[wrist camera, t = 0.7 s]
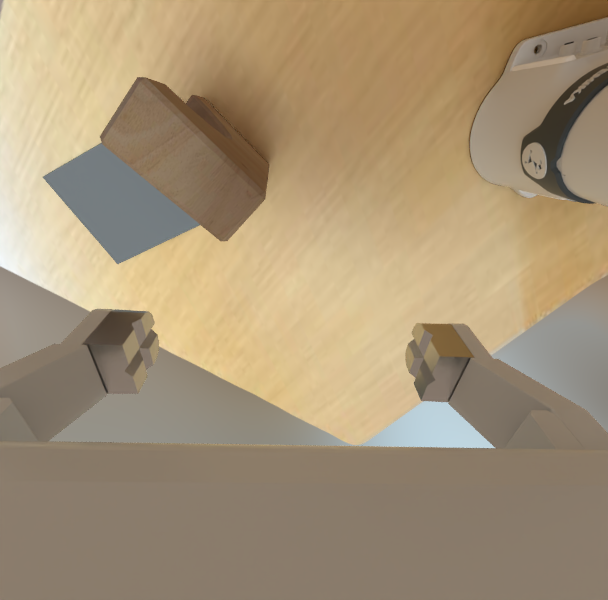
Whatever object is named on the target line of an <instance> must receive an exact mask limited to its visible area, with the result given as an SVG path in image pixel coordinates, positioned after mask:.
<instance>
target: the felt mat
mask: <svg viewBox="0 0 608 600" xmlns="http://www.w3.org/2000/svg"><path fill="white" fill-rule="evenodd" d="M43 178H44V179H45V180H46V182H47V183H48V184H49V185H50V186H51V187H52V189H53V190H54V191H55V192H56V193H57V194H58V196H59V197H60V198H61V199H62V200H63V201H64V202H65V204H66V205H67V206H68V207H69V208H70V209H71V211H72V212H73V213H74V214H75V215H76V216H77V218H78V219H79V220H80V221H81V222H82V223H83V225H84V226H85V227H86V228H87V229H88V230H89V231H90V233H91V234H92V235H93V236H94V237H95V238H96V240H97V241H98V242H99V243H100V244H101V245H102V247H103V248H104V249H105V250H106V251H107V252H108V254H109V255H110V256H111V257H112V258H113V259H114V260H115V262H116V263H117V264H119V263H121V262H123V261H125V260H127V259H130V258H132V257H134V256H136V255H138V254H140V253H142V252H144V251H146V250H148V249H150V248H153V247H155V246H157V245H159V244H161V243H163V242H165V241H167V240H169V239H171V238H174V237H176V236H178V235H180V234H182V233H184V232H186V231H188V230H190V229H192V228H195V227H197V226H199V225H200V224H199V223H198V222H197V221H195V220H194V219H193V218H192V217H190V216H189V215H188V214H187V213H186V212H184V211H183V210H182V209H181V208H179V207H178V206H177V205H176V204H174V203H173V202H172V201H171V200H170V199H168V198H167V197H166V196H165V195H163V194H162V193H161V192H160V191H159V190H157V189H156V188H155V187H154V186H152V185H151V184H150V183H149V182H148V181H146V180H145V179H144V178H143V177H141V176H140V175H139V174H138V173H137V172H135V171H134V170H133V169H132V168H130V167H129V166H128V165H127V164H126V163H124V162H123V161H122V160H121V159H119V158H118V157H117V156H116V155H115V154H113V153H112V152H111V151H110V150H109V149H107V148H106V147H105V146H104V145H102V143H101V144H99V145H97V146H96V147H94V148H92V149H90V150H89V151H87V152H85V153H83V154H82V155H80V156H78V157H77V158H75V159H73V160H71V161H70V162H68V163H66V164H64V165H63V166H61V167H59V168H58V169H56V170H54V171H52V172H51V173H49V174H47V175H45V176H44V177H43Z"/></svg>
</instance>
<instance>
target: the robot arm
mask: <svg viewBox="0 0 608 600" xmlns="http://www.w3.org/2000/svg"><path fill="white" fill-rule="evenodd" d="M536 46H537V47H538V50H537V52H536V54H535V53H534V49H535V47H536ZM470 153H471V158H472V162H473V164H474V167H475V168H476V170H477V172H478V173H479V174H480V175H481V176H482V177H483V178H484V179H485V180H487V181H489V182H491V183H493V184H496V185H500V186H506V187H510V188H512V189H513V190H514V191H515V192H516V193H518V194H519V195H520V196H522V197H526V198H532V197H535V196H537V195H541V196H546V197H550V198H555V199H560V200H569V201H574V202H576V201H577V202H581V203H589V204H592V203H598V204H601V205H604V206H607V207H608V17H605V18H602V19H598V20H594V21H591V22H587V23H583V24H580V25H576V26H572V27H568V28H565V29H561V30H557V31H554V32H550V33H546V34H543V35H539V36H535V37H532V38H528V39H525V40H523V41H521V42H520V43H518V44H517V46H516V47H515V49H514V50H513V52H512V54H511V56H510V58H509V61H508V63H507V66H506V68H505V71H504V73H503V75H502V76H501V78H500V79H499V81H498V82H497V83H496V85H495V86H494V87H493V88H492V90H491V91H490V92H489V94H488V95H487V96H486V98H485V100H484V101H483V103H482V105H481V106H480V108H479V110H478V113H477V115H476V117H475V120H474V123H473V126H472V131H471V137H470ZM153 325H154V319H153V316H152V314H151V313H150V312H146V311H130V310H112V309H95V310H92V311H91V313H90V314H89V315H88V316H87V317H86V318H85V319H84V320H83V321H82V322H81V323H80V324H79V325H78V326H77V327H76V328H75V329H74V330H73V331H72V332H71V333H70V334H69V335H68V337H67V338H66V339H65V340H64V341H63V342H62V343H61V344H53V345H51V346H48V347H46V348H44V349H42V350H40V351H37V352H35V353H33V354H31V355H28V356H26V357H24V358H22V359H20V360H18V361H15V362H13V363H11V364H9V365H6V366H4V367H2V368H0V600H608V433H607V432H606V431H605V430H604V429H603V427H602V426H601V425H600V424H599V423H598V422H597V421H596V420H595V419H594V418H593V417H592V416H591V415H590V413H589V412H588V411H586V410H585V409H583V408H581V407H580V406H578V405H576V404H575V403H573V402H571V401H570V400H568V399H566V398H564V397H562V396H561V395H559V394H557V393H556V392H554V391H552V390H551V389H549V388H547V387H545V386H544V385H542V384H540V383H539V382H537V381H535V380H533V379H532V378H530V377H528V376H526V375H525V374H523V373H521V372H520V371H518V370H516V369H514V368H513V367H511V366H509V365H508V364H506V363H504V362H502V361H501V360H499V359H493V358H492V357H491V355H490V354H489V353H488V352H487V350H486V349H485V348H484V346H483V345H482V344H481V342H480V341H479V340H478V339H477V337H476V336H475V335H474V333H473V332H472V331H471V330H470V328H469V327H468V326H467V325H465V324H431V323H416V325H415V326H414V328H413V331H412V335H413V337H414V340H412V341H411V342H410V343H409V344H408V346H407V349H406V359H405V360H406V365H407V368H408V371H409V373H410V374H412V375H413V376H414V377H415V378H416V379H415V382H414V385H415V388H416V390H417V392H418V395H419V397H420V399H421V401H436V402H437V401H438V402H449V405H450V406H451V407H453V408H454V409H455V410H456V411H457V412H458V413H459V414H460V415H461V416H462V417H463V418H464V419H465V420H466V421H468V422H469V423H470V424H471V425H472V426H473V427H474V428H475V429H476V430H477V431H478V432H479V433H480V434H481V435H482V436H484V438H486V439H487V440H488V441H489V442H490V443H491V444H492V445H493V446H494V447H495V448H437V447H436V448H435V447H373V446H371V447H370V446H309V445H308V446H307V445H245V444H244V445H243V444H239V445H238V444H180V443H179V444H178V443H114V442H113V443H112V442H108V443H107V442H49V440H50V439H52V438H53V437H54V436H55V435H57V434H58V433H59V432H61V431H62V430H63V429H64V428H66V427H67V426H68V425H69V424H71V423H72V422H73V421H75V420H76V419H77V418H79V417H80V416H81V415H82V414H83V413H85V412H86V411H87V410H89V409H90V408H91V407H93V406H94V405H95V404H96V403H98V402H99V401H100V400H102V399H103V398H104V397H106V395H107V394H138V393H139V391H140V389H141V387H142V386H143V384H144V382H145V380H146V378H147V372H146V369H148V368H149V367H151V366H152V365H153V364H154V363H155V360H156V359H157V355H158V351H159V340H158V335H157V334H156V333H155V332H154V331H153V330H152V329H151V328H152V327H153Z"/></svg>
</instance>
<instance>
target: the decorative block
mask: <svg viewBox="0 0 608 600" xmlns="http://www.w3.org/2000/svg"><path fill="white" fill-rule="evenodd" d="M100 138H101V141H102V145H104V146H105V147H106V148H107V149H109V150H110V151H111V152H112V153H113V154H115V155H116V156H117V157H118V158H119V159H121V160H122V161H123V162H124V163H126V164H127V165H128V166H129V167H130V168H132V169H133V170H134V171H135V172H137V173H138V174H139V175H140V176H141V177H143V178H144V179H145V180H146V181H148V182H149V183H150V184H151V185H152V186H154V187H155V188H156V189H157V190H159V191H160V192H161V193H162V194H163V195H165V196H166V197H167V198H168V199H170V200H171V201H172V202H173V203H174V204H176V205H177V206H178V207H179V208H181V209H182V210H183V211H184V212H186V213H187V214H188V215H189V216H190V217H192V218H193V219H194V220H195V221H197V222H198V223H199V224H200V225H201V226H203V227H204V228H205V229H206V230H208V231H209V232H210V233H211V234H213V235H214V236H215V237H216V238H217V239H219V240H220V241H228V240H229V238H230V237H231V236H232V235H233V234H234V233H235V232H236V231H237V230H238V229H239V227H240V226H241V225H242V224H243V223H244V222H245V221H246V220H247V219H248V217H249V216H250V215H251V214H252V213H253V212H254V211H255V210H256V209H257V208H258V206H259V205H260V204H261V203H262V202H263V201H264V200H265V196H266V187H267V180H268V172H269V164H268V163H267V162H266V161H265V160H264V159H263V158H262V157H261V156H260V155H259V154H258V153H257V152H256V151H255V150H254V149H253V148H252V147H251V146H250V145H249V144H248V143H247V142H246V140H245V139H244V138H243V137H242V136H241V135H240V134H239V133H238V132H237V131H236V130H235V129H234V128H233V127H232V126H231V125H230V124H229V123H228V122H227V121H226V120H225V119H224V118H223V117H222V116H221V115H220V114H219V113H218V112H217V111H216V110H215V109H214V108H213V107H212V106H211V105H210V104H209V103H208V102H207V101H206V100H205V99H204V98H202V97H199V96H195V95H192V96H191V97H190V99H189V100H188V102H187V103H186V104H185V103H184V102H183V101H182V100H181V99H180V98H179V97H178V96H177V95H176V94H175V93H174V92H173V91H172V90H170V89H169V88H168V87H167V86H166V85H165V84H162V83H160V82H157V81H154V80H151V79H148V78H143V77H137V79H136V81H135V82H134V84H133V85H132V87H131V88H130V90H129V92H128V93H127V95H126V96H125V98H124V99H123V101H122V103H121V104H120V106H119V107H118V109H117V110H116V112H115V114H114V115H113V117H112V118H111V120H110V121H109V123H108V125H107V126H106V128H105V129H104V131H103V132H102V134H101V136H100Z"/></svg>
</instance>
